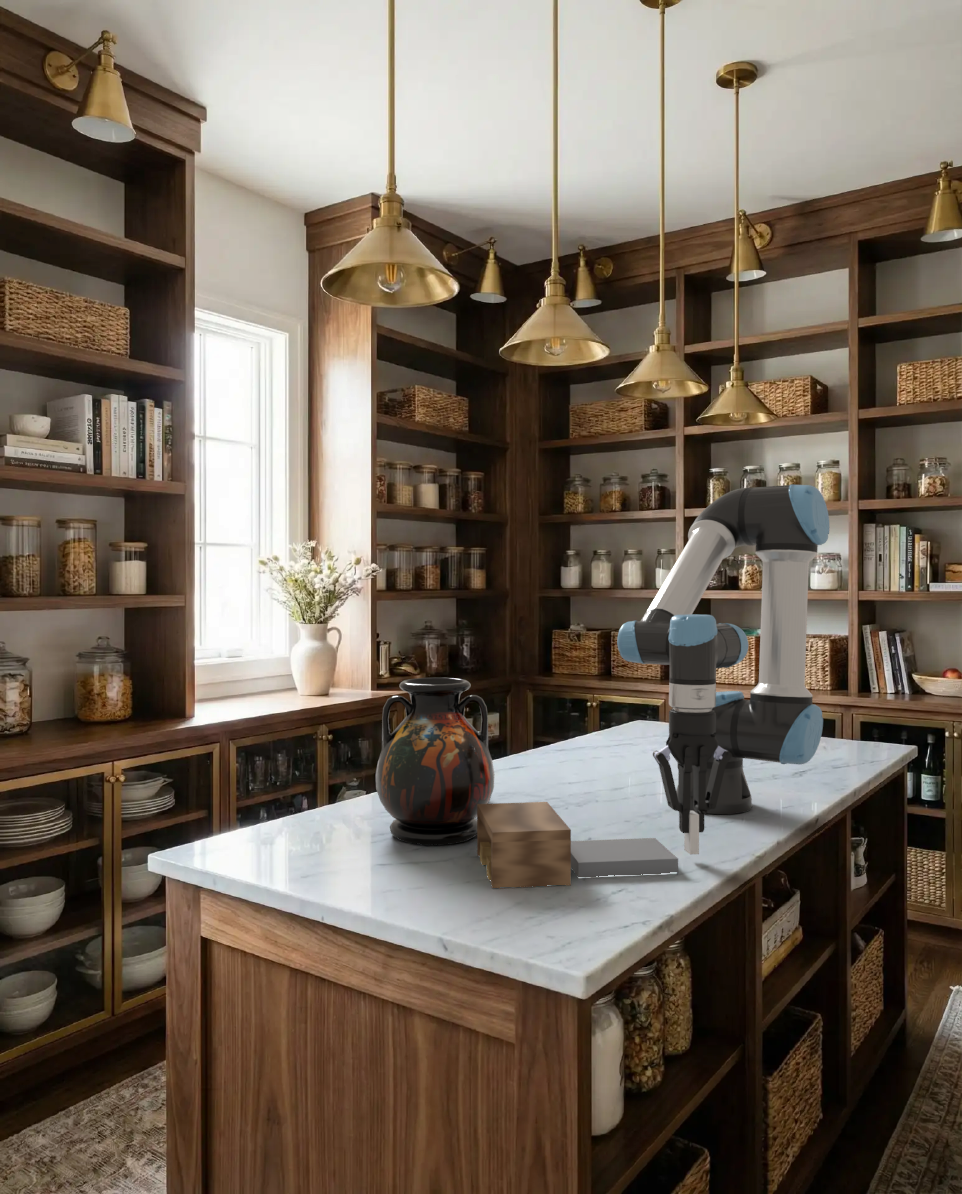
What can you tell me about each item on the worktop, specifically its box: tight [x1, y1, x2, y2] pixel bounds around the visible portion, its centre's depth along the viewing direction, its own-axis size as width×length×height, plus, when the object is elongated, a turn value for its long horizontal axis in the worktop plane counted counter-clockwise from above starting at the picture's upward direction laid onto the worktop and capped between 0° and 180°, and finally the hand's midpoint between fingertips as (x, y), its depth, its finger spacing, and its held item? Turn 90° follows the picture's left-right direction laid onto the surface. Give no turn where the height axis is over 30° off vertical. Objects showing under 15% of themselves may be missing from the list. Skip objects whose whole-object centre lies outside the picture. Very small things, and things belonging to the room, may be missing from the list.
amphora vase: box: [375, 677, 495, 846], centre depth 174 cm, size 22×22×28 cm
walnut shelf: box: [476, 801, 572, 889], centre depth 154 cm, size 12×18×8 cm, turn 8°
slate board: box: [571, 837, 679, 878], centre depth 156 cm, size 16×12×3 cm
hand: (691, 851), depth 157 cm, fingers closed
